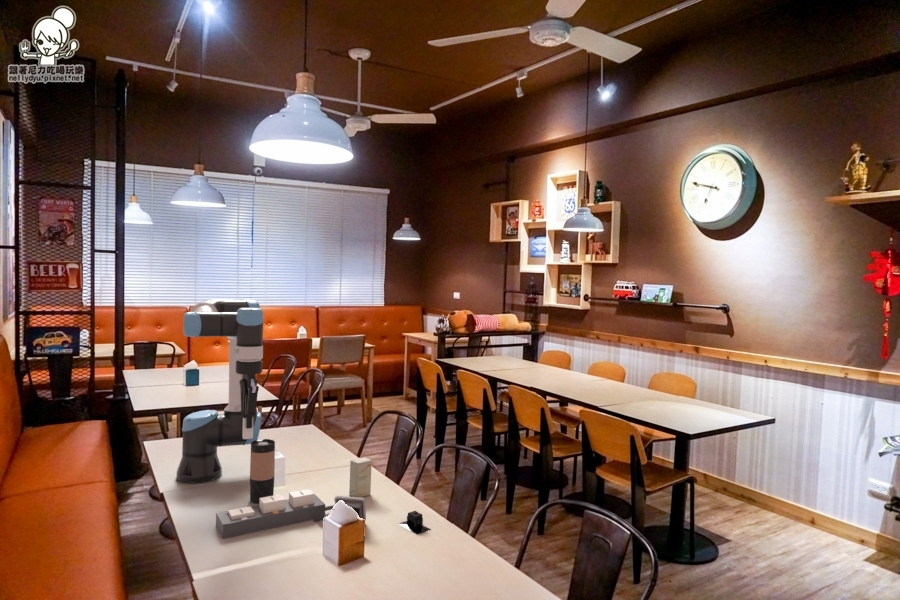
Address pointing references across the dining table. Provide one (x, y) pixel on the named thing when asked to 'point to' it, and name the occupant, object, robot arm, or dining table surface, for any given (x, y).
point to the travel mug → (262, 469)
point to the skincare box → (360, 477)
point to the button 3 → (301, 498)
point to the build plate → (415, 523)
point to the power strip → (270, 518)
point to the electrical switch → (354, 504)
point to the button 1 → (240, 513)
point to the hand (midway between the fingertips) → (247, 438)
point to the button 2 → (271, 503)
